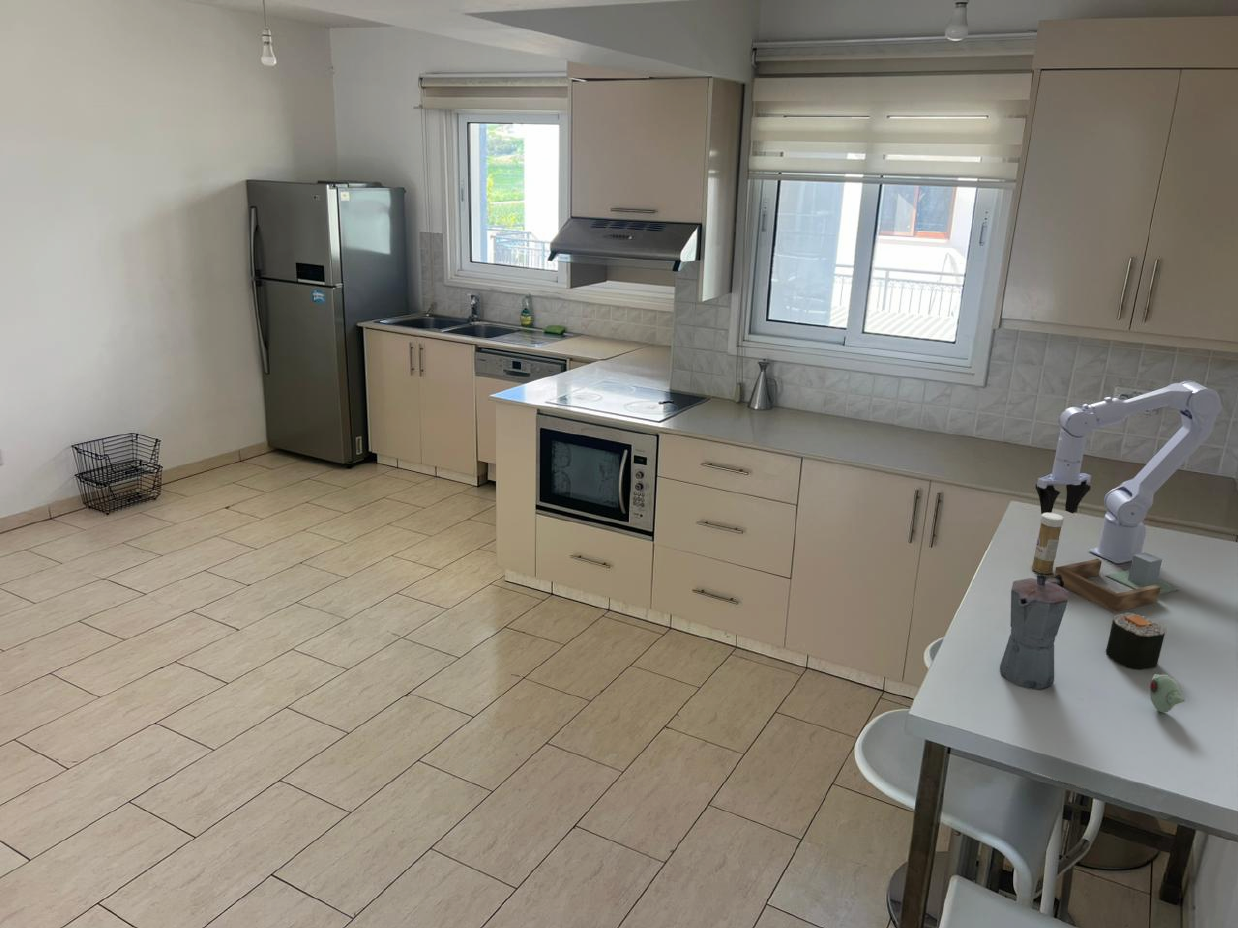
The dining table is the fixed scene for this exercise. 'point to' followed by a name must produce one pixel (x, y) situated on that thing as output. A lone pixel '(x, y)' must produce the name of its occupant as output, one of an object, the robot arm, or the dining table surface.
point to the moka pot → (1034, 631)
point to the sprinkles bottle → (1047, 543)
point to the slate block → (1144, 569)
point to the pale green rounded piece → (1164, 693)
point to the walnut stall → (1099, 594)
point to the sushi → (1135, 641)
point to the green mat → (1123, 579)
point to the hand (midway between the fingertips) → (1057, 513)
